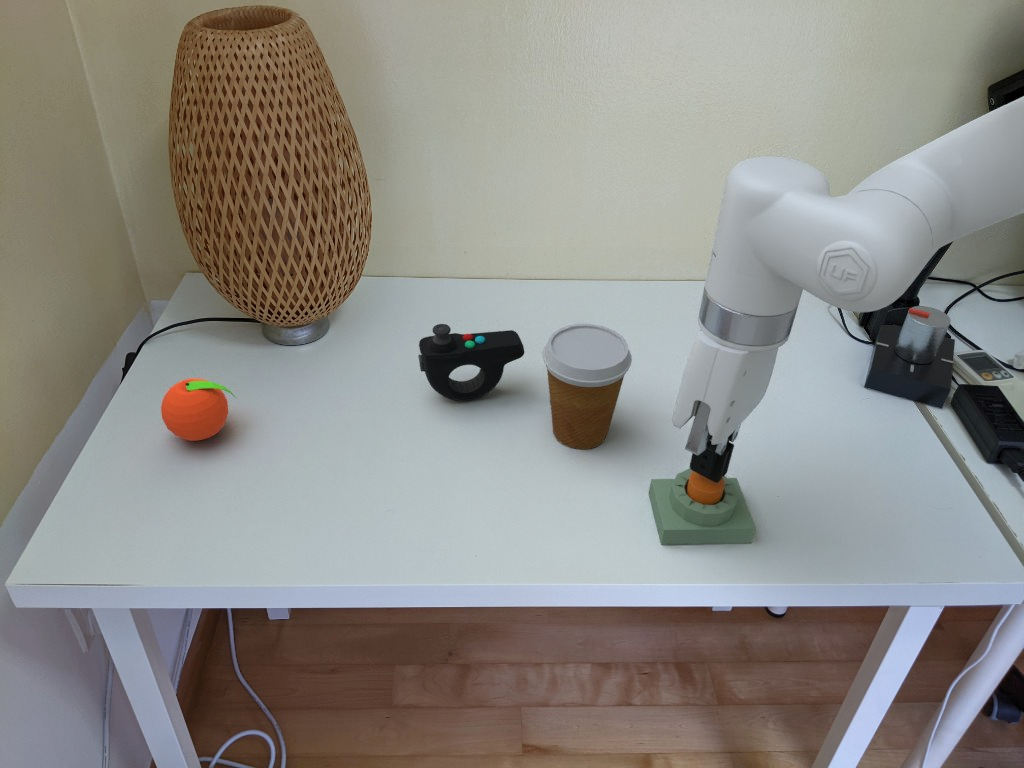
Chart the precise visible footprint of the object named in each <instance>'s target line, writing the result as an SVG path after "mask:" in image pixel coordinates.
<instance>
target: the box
mask: <svg viewBox="0 0 1024 768" xmlns="http://www.w3.org/2000/svg"><path fill="white" fill-rule="evenodd" d="M692 472H693V471H692V470H691V469H690V467H689V468H687V469H685V470H683V471H680V472H679V473H677V474H676V475H675V477H674V478H651V480H650V484H649V490H648V497H649V502H650V506H651V509H652V514H653V518H654V521H655V525H656V529H657V533H658V537H659V542H660V545H661V546H673V545H674V546H675V545H680V546H681V545H726V544H727V545H729V544H731V545H732V544H735V545H736V544H752V542H753V539H754V536H755V533H756V529H757V528H756V525H755V522H754V520H753V517H752V515H751V511H750V509H749V506H748V504H747V501H746V499H745V496H744V494H743V491H742V488H741V486H740V483H739V480H738V478H737V477H727V476H726V475H725V476H724V477H723V479H724V481H725V486H724V490H723V494H722V497H721V500H720V501H719V502H717V503H716V504H713V505H703V504H701V503H698V502H695V501H693V500H692V499H691V498H690V497H689V495H688V493H687V487H688V482H689V477H690V474H691V473H692Z"/></svg>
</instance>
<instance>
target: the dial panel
mask: <svg viewBox="0 0 1024 768" xmlns="http://www.w3.org/2000/svg"><path fill="white" fill-rule="evenodd" d="M880 325H881V324H880ZM902 326H903V325H898V324H893V325H883V326H882V325H881V326H879V328H880V329H879V328H878V330H879V332H878V331H877V333H878V334H876V335H875V338H874V343H873V347H872V350H871V355H870V359H869V364H868V368H867V373H866V377H865V381H864V385H863V388H865V389H869V390H872V391H876V392H879V393H882V394H885V395H886V394H887V395H890V396H894V397H897V398H902V399H905V400H908V401H913V402H916V403H920V404H922V405H926V406H931V407H934V408H938V409H941V410H943V407H944V405H945V403H946V401H947V399H948V396H949V394H950V392H951V389H952V381H953V380H952V379H953V370H954V369H953V367H954V364H955V363H954V359H955V358H954V356H955V345H956V339H954V338H950V337H947V336H945V337H944V339H943V341H942V344H941V346H940V348H939V351H938V353H937V355H936V358H935V360H934V361H933V362H931V363H928V364H917V363H912V362H909V361H907V360H904V359H903V358H901V357H900V356H898V355H897V354H896V352H895V350H894V347H895V344H896V342H897V339H898V336H899V334H900V331H901V329H902Z"/></svg>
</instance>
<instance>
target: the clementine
mask: <svg viewBox="0 0 1024 768" xmlns="http://www.w3.org/2000/svg"><path fill="white" fill-rule="evenodd" d="M224 391H225V392H227V393H229V394H231V396H233V397H234V398H236V399H237V397H236V396H235V394H234V393H233V392H232V391H231V390H230V389H228V388H227V387H226V386H224V385H221V384H220V383H217V382H213V381H210V380H207V379H205V378H195V377H193V378H186V379H183V380H180V381H179V382H177V383H174V384H173V385H172V386H171V387H169V389H168V390H167V392H166V393H165V394H164V395H163V399H162V402H161V407H160V413H161V419H162V421H163V423H164V425H165V426H166V428H167V430H168V431H169V432H171V434H173V435H174V436H176V437H178V438H180V439H183V440H186V441H190V442H194V441H195V442H196V441H197V442H198V441H202V440H206V439H209V438H211V437H213V436H215V435H217V433H219V432H220V431H221V429H222V428H223V426H224V425H225V424H226V422H227V419H228V415H229V404H228V403H229V402H228V399H227V396H226V395H225V393H224Z"/></svg>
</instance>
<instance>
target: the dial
mask: <svg viewBox="0 0 1024 768" xmlns="http://www.w3.org/2000/svg"><path fill="white" fill-rule="evenodd" d="M951 323H952V322H951V318H950V316H949V315H948V314H946V313H945V312H944V311H942V310H940V309H938V308H934V307H931V306H926V305H916V306H912V307H909V309H908V311H907V313H906V316H905V318H904V322H903V324H902V325H901V326H902V329H901V331H900V334H899V336H898V339H897V342H896V344H895V347H894V350H895V352H896V354H897V355H898V356H900V357H901V358H903V359H904V360H907V361H909V362H912V363H917V364H928V363H931V362H933V361H934V360H935V358H936V355H937V353H938V351H939V348H940V346H941V344H942V341H943V339H944V337H946V334H947V333H948V330H949V327H950V325H951Z"/></svg>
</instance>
